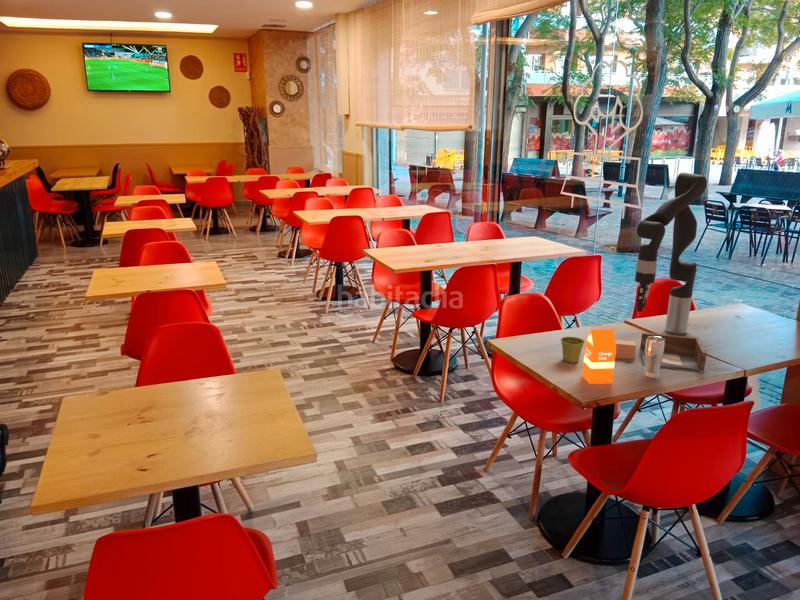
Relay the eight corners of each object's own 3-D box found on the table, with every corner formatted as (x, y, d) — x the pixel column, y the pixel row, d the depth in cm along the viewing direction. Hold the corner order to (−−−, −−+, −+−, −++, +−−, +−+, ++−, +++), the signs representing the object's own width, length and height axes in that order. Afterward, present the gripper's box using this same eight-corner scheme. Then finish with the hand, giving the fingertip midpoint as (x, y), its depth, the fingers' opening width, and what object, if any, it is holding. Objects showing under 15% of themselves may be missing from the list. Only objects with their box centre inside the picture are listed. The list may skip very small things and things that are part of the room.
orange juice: (612, 383, 228) (618, 332, 222) (589, 384, 227) (594, 332, 222) (604, 375, 236) (609, 325, 230) (581, 375, 235) (586, 326, 229)
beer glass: (646, 370, 240) (651, 334, 236) (664, 375, 235) (669, 338, 231) (638, 375, 235) (642, 338, 231) (656, 380, 231) (661, 343, 226)
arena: (639, 350, 262) (642, 332, 259) (696, 355, 256) (698, 337, 253) (643, 365, 245) (645, 346, 243) (703, 372, 239) (706, 352, 237)
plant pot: (555, 356, 254) (557, 336, 251) (577, 355, 255) (579, 336, 252) (563, 365, 245) (565, 344, 242) (586, 364, 246) (588, 344, 243)
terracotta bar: (608, 356, 255) (610, 343, 253) (608, 352, 259) (609, 339, 257) (634, 359, 252) (636, 345, 250) (633, 355, 256) (635, 341, 255)
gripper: (638, 267, 257) (634, 304, 261) (633, 272, 244) (628, 311, 248) (658, 269, 253) (653, 307, 257) (653, 274, 241) (648, 314, 245)
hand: (641, 309), depth 253 cm, fingers open, 8 cm apart
